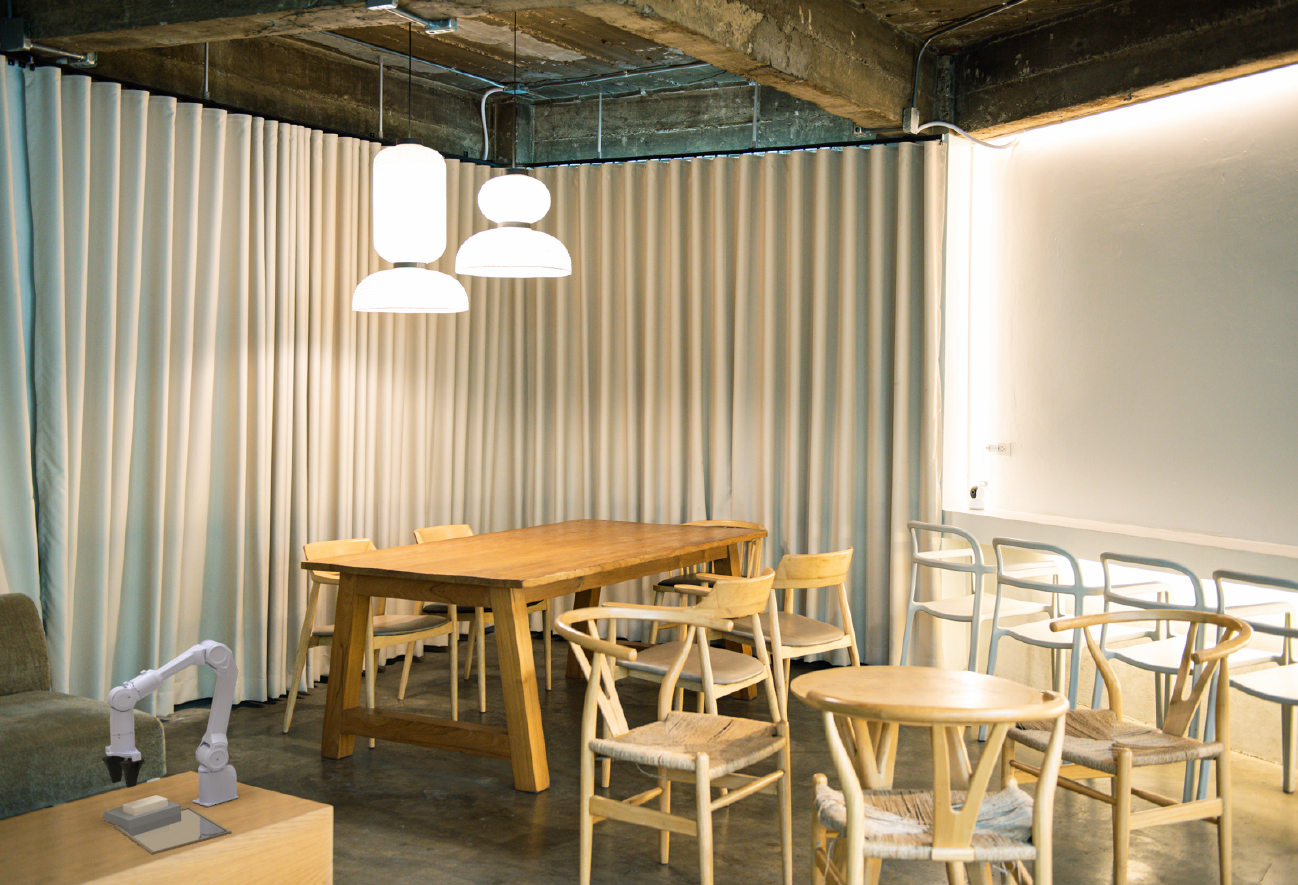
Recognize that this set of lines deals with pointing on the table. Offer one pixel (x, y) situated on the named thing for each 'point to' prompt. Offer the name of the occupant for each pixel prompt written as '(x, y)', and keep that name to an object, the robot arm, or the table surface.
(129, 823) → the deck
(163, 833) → the picture frame
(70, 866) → the table surface
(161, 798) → the tile
